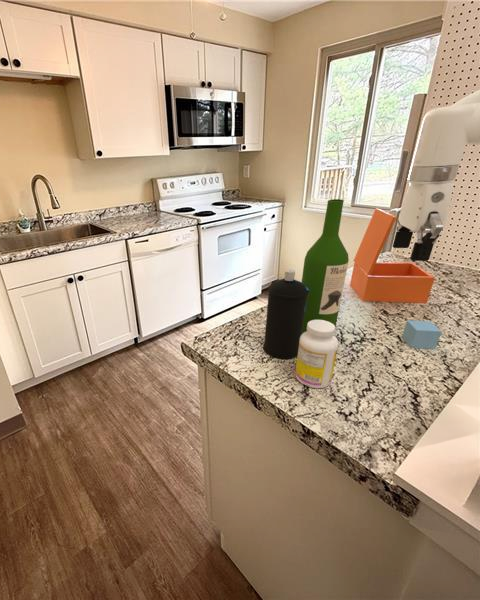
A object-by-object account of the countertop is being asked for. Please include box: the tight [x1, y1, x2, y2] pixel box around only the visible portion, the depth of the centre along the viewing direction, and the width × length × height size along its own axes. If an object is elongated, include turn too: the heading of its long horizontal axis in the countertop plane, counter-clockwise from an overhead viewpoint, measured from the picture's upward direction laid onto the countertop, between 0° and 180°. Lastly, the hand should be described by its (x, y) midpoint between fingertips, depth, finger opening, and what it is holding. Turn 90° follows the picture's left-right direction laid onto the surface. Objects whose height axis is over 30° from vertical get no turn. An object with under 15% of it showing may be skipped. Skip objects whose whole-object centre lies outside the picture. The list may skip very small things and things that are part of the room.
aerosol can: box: [262, 269, 309, 360], centre depth 70 cm, size 8×8×20 cm
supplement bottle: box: [294, 320, 339, 389], centre depth 61 cm, size 7×7×13 cm
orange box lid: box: [353, 208, 398, 275], centre depth 89 cm, size 16×13×1 cm
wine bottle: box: [301, 198, 350, 335], centre depth 73 cm, size 9×9×32 cm
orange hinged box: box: [349, 261, 436, 304], centre depth 93 cm, size 16×13×8 cm
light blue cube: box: [401, 319, 443, 350], centre depth 70 cm, size 5×5×5 cm
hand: (409, 253), depth 72 cm, fingers open, 9 cm apart
